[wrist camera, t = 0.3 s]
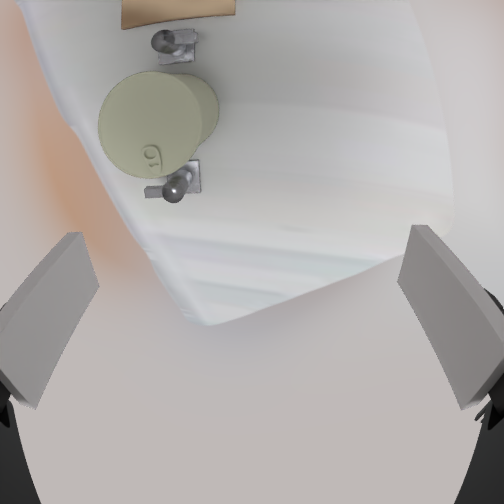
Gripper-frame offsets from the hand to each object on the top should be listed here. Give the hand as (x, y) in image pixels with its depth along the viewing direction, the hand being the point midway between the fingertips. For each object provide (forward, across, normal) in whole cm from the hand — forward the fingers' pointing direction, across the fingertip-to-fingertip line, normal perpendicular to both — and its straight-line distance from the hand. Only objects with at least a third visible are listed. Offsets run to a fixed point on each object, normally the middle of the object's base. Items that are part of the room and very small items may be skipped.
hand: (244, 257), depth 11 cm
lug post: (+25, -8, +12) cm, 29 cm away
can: (+26, -8, +4) cm, 27 cm away
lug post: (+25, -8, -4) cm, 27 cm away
